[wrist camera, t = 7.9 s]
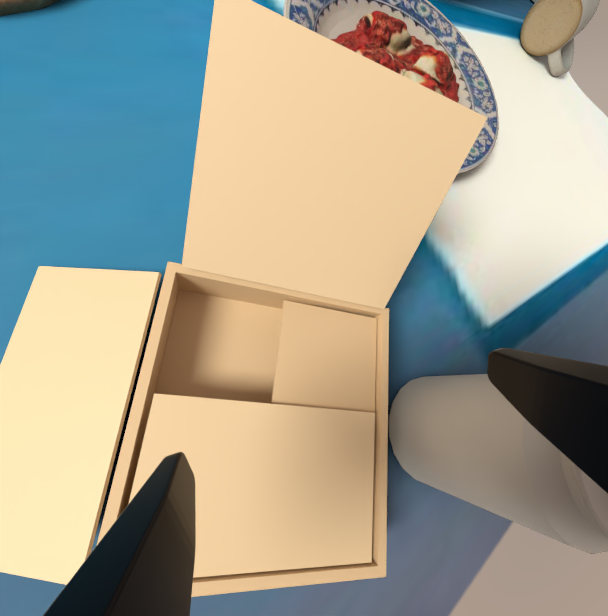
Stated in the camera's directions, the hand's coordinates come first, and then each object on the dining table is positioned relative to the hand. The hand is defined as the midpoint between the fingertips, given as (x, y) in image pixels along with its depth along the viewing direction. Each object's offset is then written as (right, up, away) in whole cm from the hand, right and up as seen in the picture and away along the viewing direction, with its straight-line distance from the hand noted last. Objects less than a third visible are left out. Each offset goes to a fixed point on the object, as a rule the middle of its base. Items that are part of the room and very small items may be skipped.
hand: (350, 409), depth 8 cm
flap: (-2, +4, +9) cm, 10 cm away
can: (+8, -6, +15) cm, 18 cm away
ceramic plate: (+8, +27, +24) cm, 37 cm away
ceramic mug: (+35, +43, +38) cm, 67 cm away
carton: (-7, -3, +10) cm, 13 cm away
